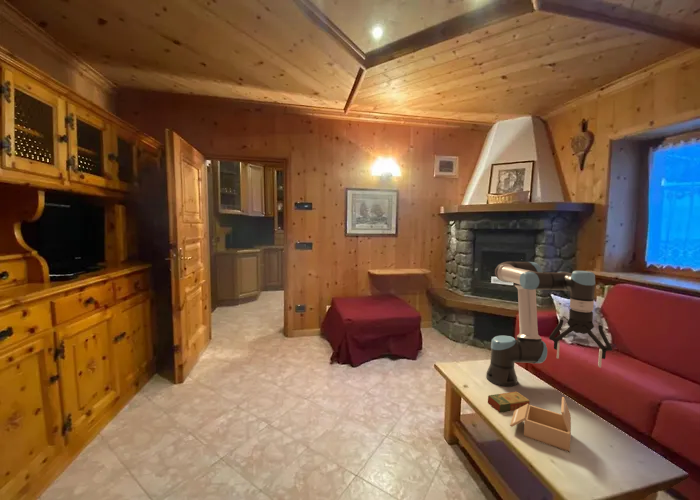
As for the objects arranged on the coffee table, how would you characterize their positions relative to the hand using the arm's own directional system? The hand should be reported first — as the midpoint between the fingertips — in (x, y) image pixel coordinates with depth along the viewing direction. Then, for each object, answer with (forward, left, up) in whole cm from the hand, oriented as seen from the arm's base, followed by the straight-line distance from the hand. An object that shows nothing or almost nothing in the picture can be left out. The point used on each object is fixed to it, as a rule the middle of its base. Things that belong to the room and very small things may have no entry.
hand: (578, 361), depth 125 cm
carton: (-3, -25, -29) cm, 38 cm away
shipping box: (+11, -11, -29) cm, 33 cm away
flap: (+11, -2, -21) cm, 24 cm away
